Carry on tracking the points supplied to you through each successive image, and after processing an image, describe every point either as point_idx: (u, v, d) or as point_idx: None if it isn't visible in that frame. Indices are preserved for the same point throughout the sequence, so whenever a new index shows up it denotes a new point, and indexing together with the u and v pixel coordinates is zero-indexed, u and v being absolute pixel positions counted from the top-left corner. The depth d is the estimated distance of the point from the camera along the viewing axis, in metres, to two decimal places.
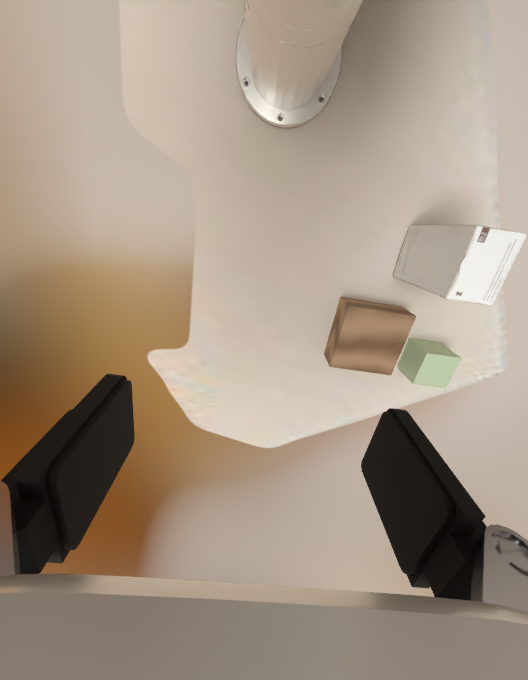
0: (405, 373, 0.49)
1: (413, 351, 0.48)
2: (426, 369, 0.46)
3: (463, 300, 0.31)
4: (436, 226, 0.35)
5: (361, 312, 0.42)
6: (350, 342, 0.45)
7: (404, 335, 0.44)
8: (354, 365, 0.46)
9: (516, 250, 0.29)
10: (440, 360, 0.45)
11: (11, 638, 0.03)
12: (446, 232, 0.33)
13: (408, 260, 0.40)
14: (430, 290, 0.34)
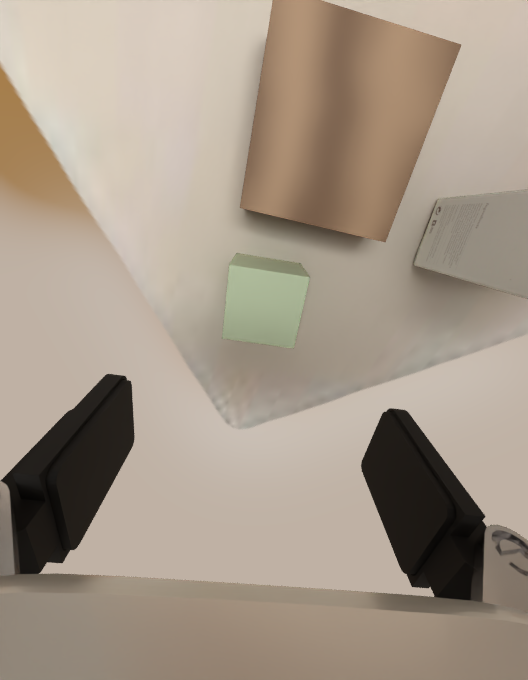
0: (237, 259, 0.22)
1: (287, 266, 0.23)
2: (267, 287, 0.21)
3: None
4: None
5: (430, 91, 0.17)
6: (350, 65, 0.16)
7: (344, 223, 0.20)
8: (274, 86, 0.16)
9: None
10: (289, 311, 0.21)
11: (11, 638, 0.03)
12: None
13: None
14: None
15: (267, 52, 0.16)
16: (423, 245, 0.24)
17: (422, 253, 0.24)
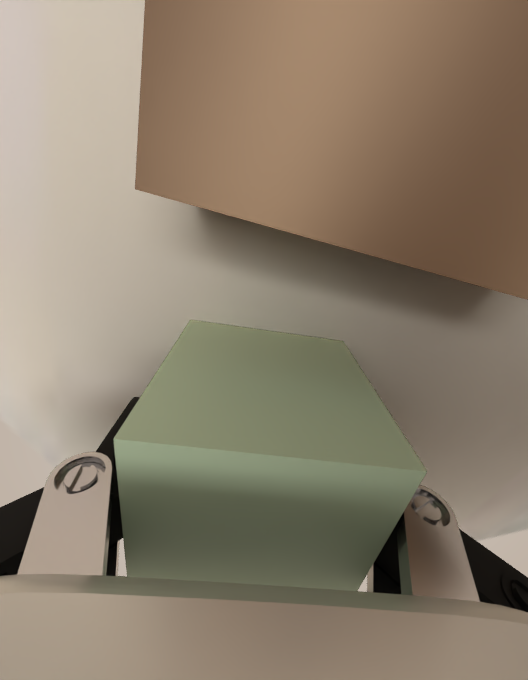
0: (175, 362, 0.07)
1: (323, 375, 0.08)
2: (266, 499, 0.06)
3: None
4: None
5: None
6: None
7: None
8: None
9: None
10: (339, 549, 0.06)
11: (11, 638, 0.03)
12: None
13: None
14: None
15: None
16: None
17: None
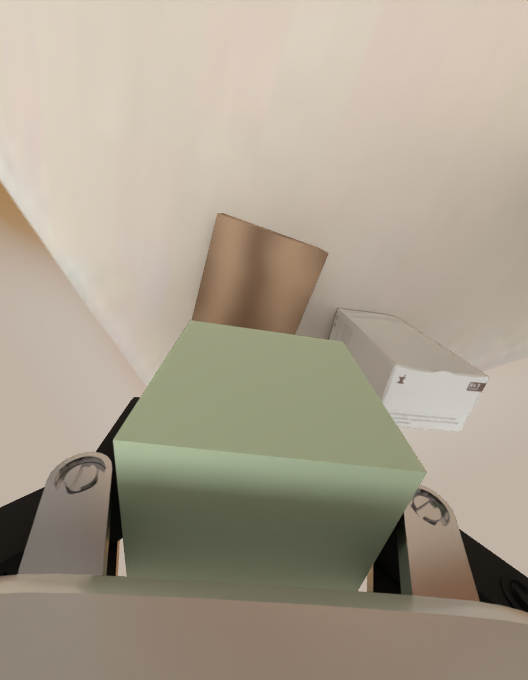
0: (175, 363, 0.07)
1: (323, 375, 0.08)
2: (266, 500, 0.06)
3: (388, 388, 0.21)
4: (430, 339, 0.28)
5: (312, 273, 0.27)
6: (263, 255, 0.26)
7: None
8: (215, 260, 0.26)
9: (443, 427, 0.23)
10: (339, 550, 0.06)
11: (11, 638, 0.03)
12: (442, 348, 0.25)
13: (373, 319, 0.30)
14: (378, 346, 0.23)
15: (212, 243, 0.26)
16: (330, 337, 0.34)
17: None
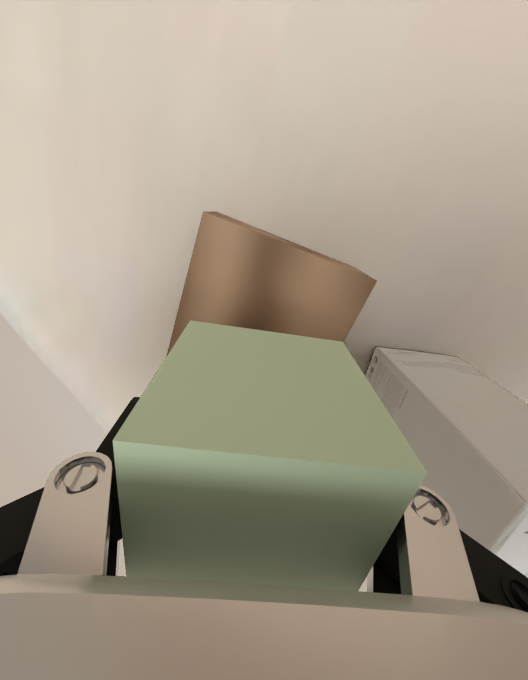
0: (175, 363, 0.07)
1: (323, 375, 0.08)
2: (265, 500, 0.06)
3: (506, 539, 0.11)
4: None
5: (348, 310, 0.18)
6: (274, 280, 0.17)
7: None
8: (199, 285, 0.17)
9: None
10: (339, 551, 0.06)
11: (11, 638, 0.03)
12: None
13: (433, 370, 0.21)
14: (471, 441, 0.14)
15: (194, 259, 0.16)
16: None
17: None
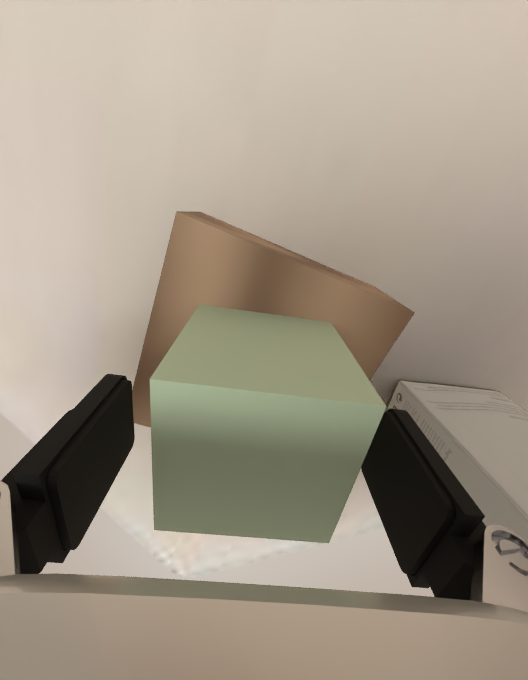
0: (190, 333, 0.09)
1: (311, 345, 0.10)
2: (264, 431, 0.07)
3: None
4: None
5: (373, 349, 0.13)
6: (275, 308, 0.12)
7: None
8: (172, 313, 0.12)
9: None
10: (322, 477, 0.08)
11: (11, 638, 0.03)
12: None
13: (477, 416, 0.16)
14: None
15: (164, 277, 0.12)
16: None
17: None
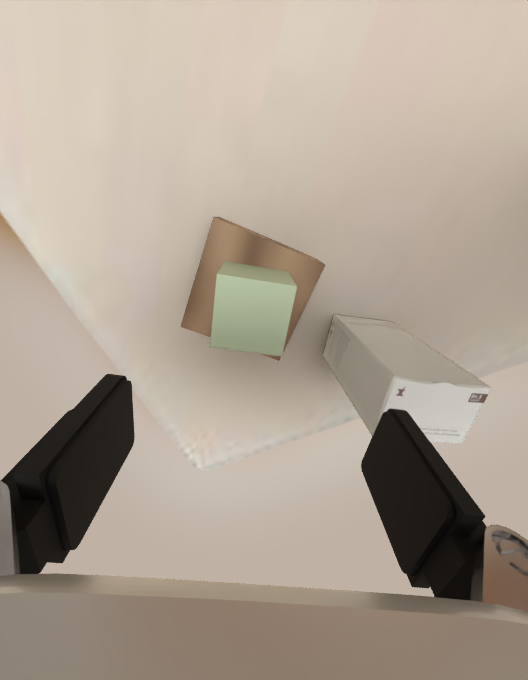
0: (225, 267, 0.22)
1: (275, 274, 0.23)
2: (255, 296, 0.21)
3: (387, 401, 0.20)
4: (429, 346, 0.27)
5: (307, 284, 0.26)
6: (258, 263, 0.25)
7: None
8: (209, 265, 0.25)
9: (444, 439, 0.22)
10: (277, 319, 0.21)
11: (11, 638, 0.03)
12: (441, 357, 0.24)
13: (370, 327, 0.30)
14: (376, 356, 0.22)
15: (206, 247, 0.25)
16: (327, 344, 0.33)
17: (326, 350, 0.33)
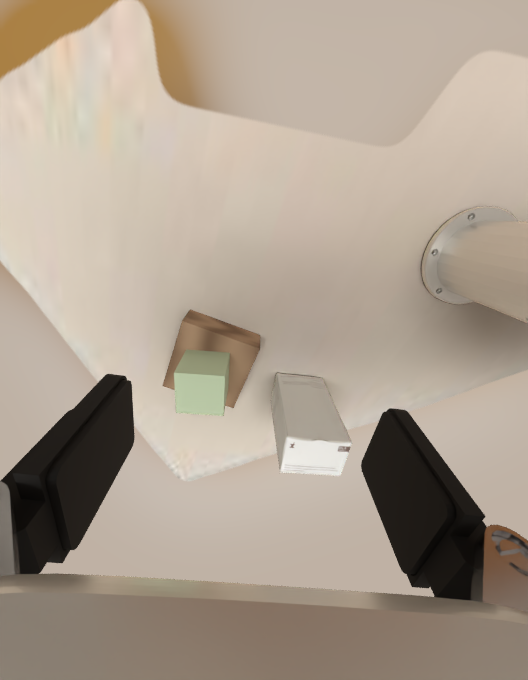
0: (182, 360, 0.35)
1: (216, 362, 0.35)
2: (199, 383, 0.33)
3: (285, 450, 0.32)
4: (333, 404, 0.39)
5: (248, 360, 0.38)
6: (214, 347, 0.37)
7: None
8: (180, 349, 0.37)
9: (328, 473, 0.34)
10: (216, 395, 0.34)
11: (11, 638, 0.03)
12: (334, 415, 0.36)
13: (297, 386, 0.41)
14: (285, 417, 0.34)
15: (178, 338, 0.37)
16: (272, 393, 0.45)
17: (271, 398, 0.45)
